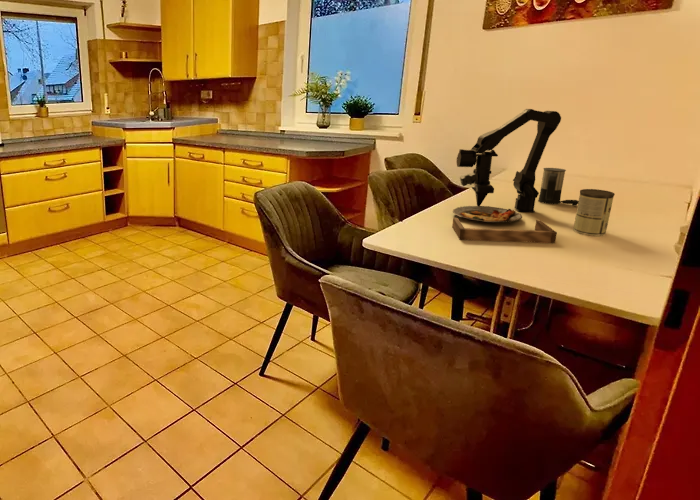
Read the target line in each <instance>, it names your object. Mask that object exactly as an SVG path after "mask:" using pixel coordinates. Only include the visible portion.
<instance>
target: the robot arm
mask: <svg viewBox="0 0 700 500" xmlns="http://www.w3.org/2000/svg"><path fill="white" fill-rule="evenodd" d="M530 121H534V122H537V124H536V128H537V129H536V131H537V133H536V135H535V138H534V141H533V142H532V146H531V148H530V151H529V154H528V156H527V158H526V161H525V163H524V166H523V167H522V169H521V170H520V171H518V170H517V171H516V172H515V176H514V178H513V179H512V182H513V187H514V189H515V190H516V193H517V197H516V198H515V201H514V202H515V204H514V209H515V211H516V212H517V211H518V213H536V210H535V206H536V199H537V198H538V196H539V195H540V192H539V191H538V190H537V189H536V187H535V183H536V171H537V168H538V166H539V163H540V162H541V159H542V156H543V154H544V151H545V148H546V146H547V144H548V141H549V138H550V137H551V135H552V134H553V133H554V132H555V131H556V130H557V128H558V126H559V124H561V121H562V116H561V114H560V113H559V112H558V111H557V110H556V111H555V110H544V111H541V110H535V109H533V108H525V109H524V110H522V112H521V113H519V114H517V115H516V116H514V117H513V118H511V119H510V120H508V121H506V122H505V123H503V124H502V125H500V126H499V127H497V128H496V129H492V130H490V131H487V132H485V133H482V134H481V135H480V136H478V137H477V141H476V143H475V144H473V146H472V148H471V149H464V148H463V149H459V152H458V154H457V156H456V167H457V168H473V167H474V166H475V168H473V170H472V172H471V173H467V174H464V175H463V174H462V175H461V176H459V180H460V184H461V185H462V187H465V186H467V185H469V186H472V185H473V186H472V187H471V189H472V190H473V191H474V193H475V199H476V202H475V203H476V206H482V204H483V202H484V201H485V199H486V197H487V195H488V194H494V192H495V188H494V186H493V185H491V181H490V176H491V174H492V170H491V169H492V168H491V167H492V160H493V157H499V154H498V153H496V151H495V150H494V149H495V148H496V147H497V146H498V145H499V144H500V143H501V141H502V140H503V139H504V138H506V137H507V136H508V135H510V134H511V133H513V132H515V131H517V130H518V129H519V128H521V127H522V126H524V125H525V124H526V123H528V122H530Z"/></svg>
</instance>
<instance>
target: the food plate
mask: <svg viewBox="0 0 700 500" xmlns="http://www.w3.org/2000/svg"><path fill="white" fill-rule="evenodd" d="M452 214H454V215H456V216H458V217H460V218H463V219H466V220H469V221H470V220H471V221H476V222H479V221H480V222H484V223H490V224H491V223H493V224H496V223H513V222H516V221H519V220H521V219H523V215H522V214H521V212H517V211H516V210H514V209H511V208H508V209H507V208H503V207H502V208H501V207H494V206H490V205H480V206H477V205H468V206H467V205H466V206H465V205H464V206H460V207H456V208H454V209H452Z"/></svg>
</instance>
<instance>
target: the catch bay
mask: <svg viewBox="0 0 700 500" xmlns="http://www.w3.org/2000/svg"><path fill="white" fill-rule="evenodd" d="M451 227H452V229H453V231H454V233H455V234H456V236H457V238H458V240H460V241H482V242H483V241H484V242H487V241H489V242H509V243H510V242H512V243H513V242H515V243H516V242H517V243H535V244H536V243H538V244H539V243H540V244H541V243H543V244H544V243H545V244H556V240H557V234H558V233H557V231H555V230H554V229H552V228H551V227H550V226H549V225H548V224H546V223H545V222H544V221H543V220H539V219H538V220H536V221H535V226H534V227H535V228H534V230H529V229H504V228H503V229H501V228H471V227H466V228H465V226H464V225H463V223H462V222H461V221H460V220H459V218H458V217H452V225H451Z"/></svg>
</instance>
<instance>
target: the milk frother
mask: <svg viewBox="0 0 700 500" xmlns="http://www.w3.org/2000/svg"><path fill="white" fill-rule="evenodd" d="M542 169H543V173H542V178H541V179H542V181H541V185H540V186H541V187H540V189H539V190H540V192H539V194H538V196H539V197H538V200H537V201H538V202H539V203H542V204H547V205H548V204H549V205H559V204H562V203H563V204H564V205H565V204H567V205H572V207H576V206H577V207H578V201H579V200H577V199H565V200H564V199H563V200H561V196H562V190H563V185H564V178H565V174H566V171H567V170H566V169H565V168H559V167H558V168H557V167H543V168H542Z"/></svg>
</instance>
